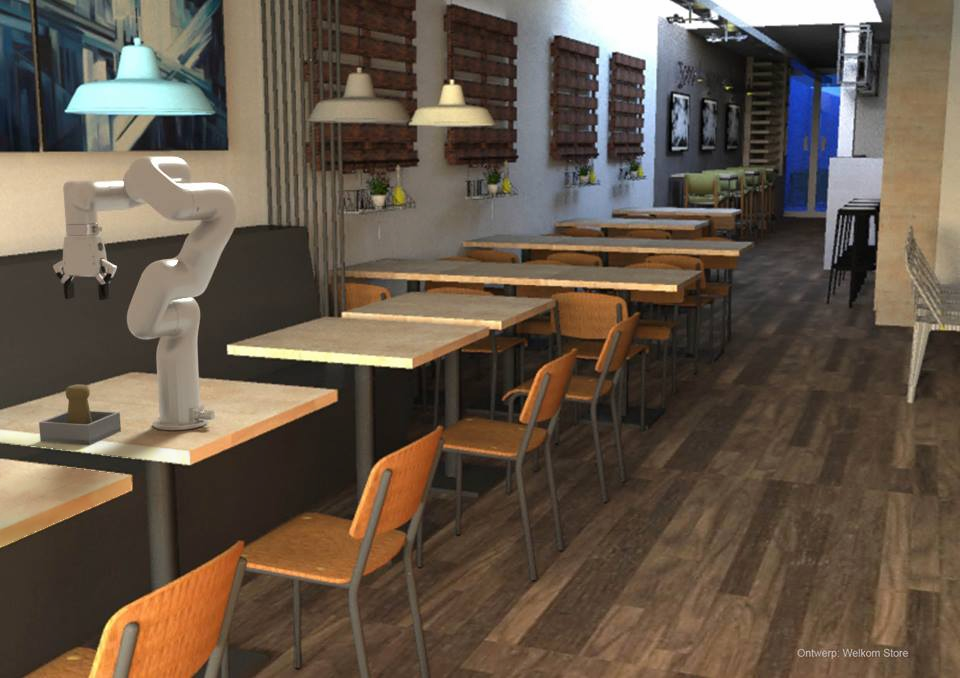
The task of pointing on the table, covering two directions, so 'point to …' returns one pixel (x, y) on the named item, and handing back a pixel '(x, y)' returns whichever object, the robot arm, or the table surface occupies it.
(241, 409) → the table surface
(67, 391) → the cork
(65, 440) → the box
